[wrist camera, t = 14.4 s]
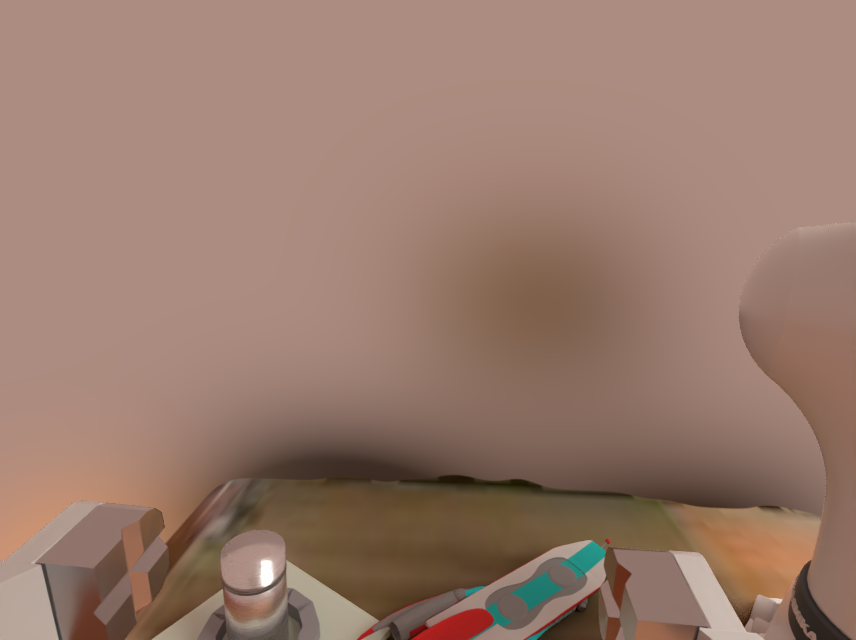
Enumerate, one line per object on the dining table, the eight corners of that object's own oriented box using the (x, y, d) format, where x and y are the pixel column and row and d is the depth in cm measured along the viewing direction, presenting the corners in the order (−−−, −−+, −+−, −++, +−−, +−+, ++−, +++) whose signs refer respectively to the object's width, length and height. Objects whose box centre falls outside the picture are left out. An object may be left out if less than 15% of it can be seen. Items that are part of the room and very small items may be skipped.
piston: (264, 611, 49) (259, 521, 46) (302, 641, 46) (298, 547, 44) (215, 650, 45) (206, 553, 42) (252, 685, 42) (245, 584, 40)
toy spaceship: (548, 533, 63) (556, 496, 62) (634, 598, 55) (647, 557, 54) (353, 645, 46) (358, 598, 44) (438, 764, 38) (449, 711, 36)
